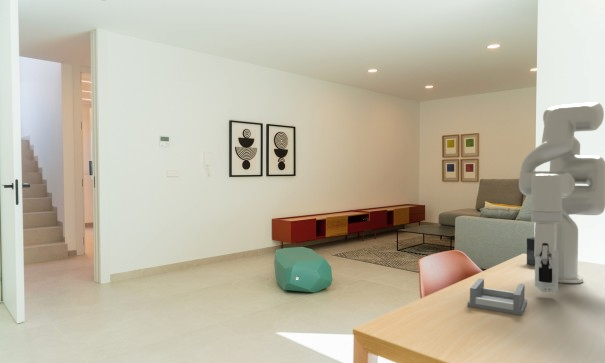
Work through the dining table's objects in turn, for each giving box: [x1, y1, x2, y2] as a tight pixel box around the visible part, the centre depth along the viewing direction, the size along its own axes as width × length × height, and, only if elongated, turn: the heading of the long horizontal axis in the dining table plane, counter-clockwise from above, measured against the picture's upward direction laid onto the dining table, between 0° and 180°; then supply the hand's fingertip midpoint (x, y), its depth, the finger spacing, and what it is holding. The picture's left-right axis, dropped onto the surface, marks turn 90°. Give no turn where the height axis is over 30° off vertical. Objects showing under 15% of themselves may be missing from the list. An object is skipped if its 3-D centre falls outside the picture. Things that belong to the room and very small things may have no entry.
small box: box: [526, 236, 535, 267], centre depth 161 cm, size 11×6×10 cm, turn 122°
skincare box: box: [534, 250, 559, 293], centre depth 117 cm, size 6×4×12 cm
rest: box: [467, 278, 528, 316], centre depth 111 cm, size 12×13×5 cm
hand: (546, 277), depth 117 cm, fingers closed on skincare box, 7 cm apart
